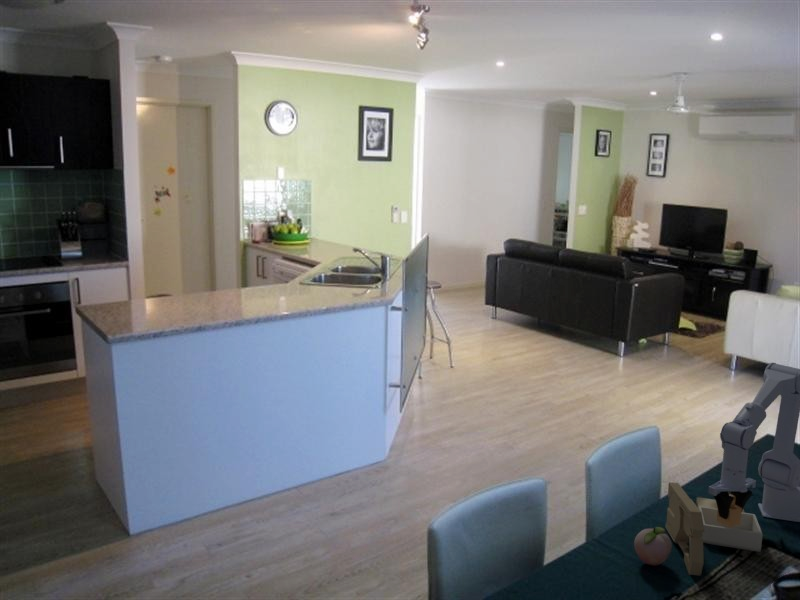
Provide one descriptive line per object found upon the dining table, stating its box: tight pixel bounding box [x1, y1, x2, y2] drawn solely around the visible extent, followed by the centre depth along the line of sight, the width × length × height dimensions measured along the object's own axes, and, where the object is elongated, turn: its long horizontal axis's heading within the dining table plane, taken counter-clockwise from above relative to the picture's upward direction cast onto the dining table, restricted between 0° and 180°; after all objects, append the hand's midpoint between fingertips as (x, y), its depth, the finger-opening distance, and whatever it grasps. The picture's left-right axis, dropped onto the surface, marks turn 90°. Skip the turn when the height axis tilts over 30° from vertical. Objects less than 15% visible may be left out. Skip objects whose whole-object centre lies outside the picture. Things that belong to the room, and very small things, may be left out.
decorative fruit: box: [633, 526, 673, 567], centre depth 162 cm, size 9×8×10 cm
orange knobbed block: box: [717, 493, 742, 527], centre depth 175 cm, size 4×4×8 cm
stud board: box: [695, 496, 746, 513], centre depth 188 cm, size 12×12×5 cm
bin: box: [698, 506, 764, 553], centre depth 175 cm, size 14×11×5 cm
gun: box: [664, 481, 704, 576], centre depth 168 cm, size 24×3×15 cm, turn 171°
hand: (729, 515), depth 175 cm, fingers closed on orange knobbed block, 4 cm apart
